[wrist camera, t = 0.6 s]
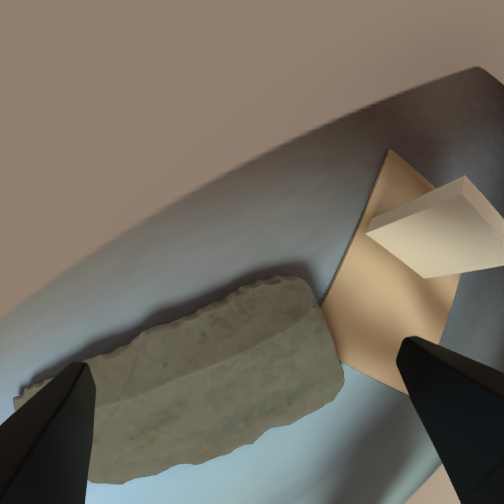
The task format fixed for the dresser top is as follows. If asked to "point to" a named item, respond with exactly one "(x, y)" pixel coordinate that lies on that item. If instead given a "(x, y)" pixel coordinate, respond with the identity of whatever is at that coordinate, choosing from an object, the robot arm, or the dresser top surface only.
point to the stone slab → (210, 381)
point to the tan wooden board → (384, 287)
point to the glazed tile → (443, 231)
